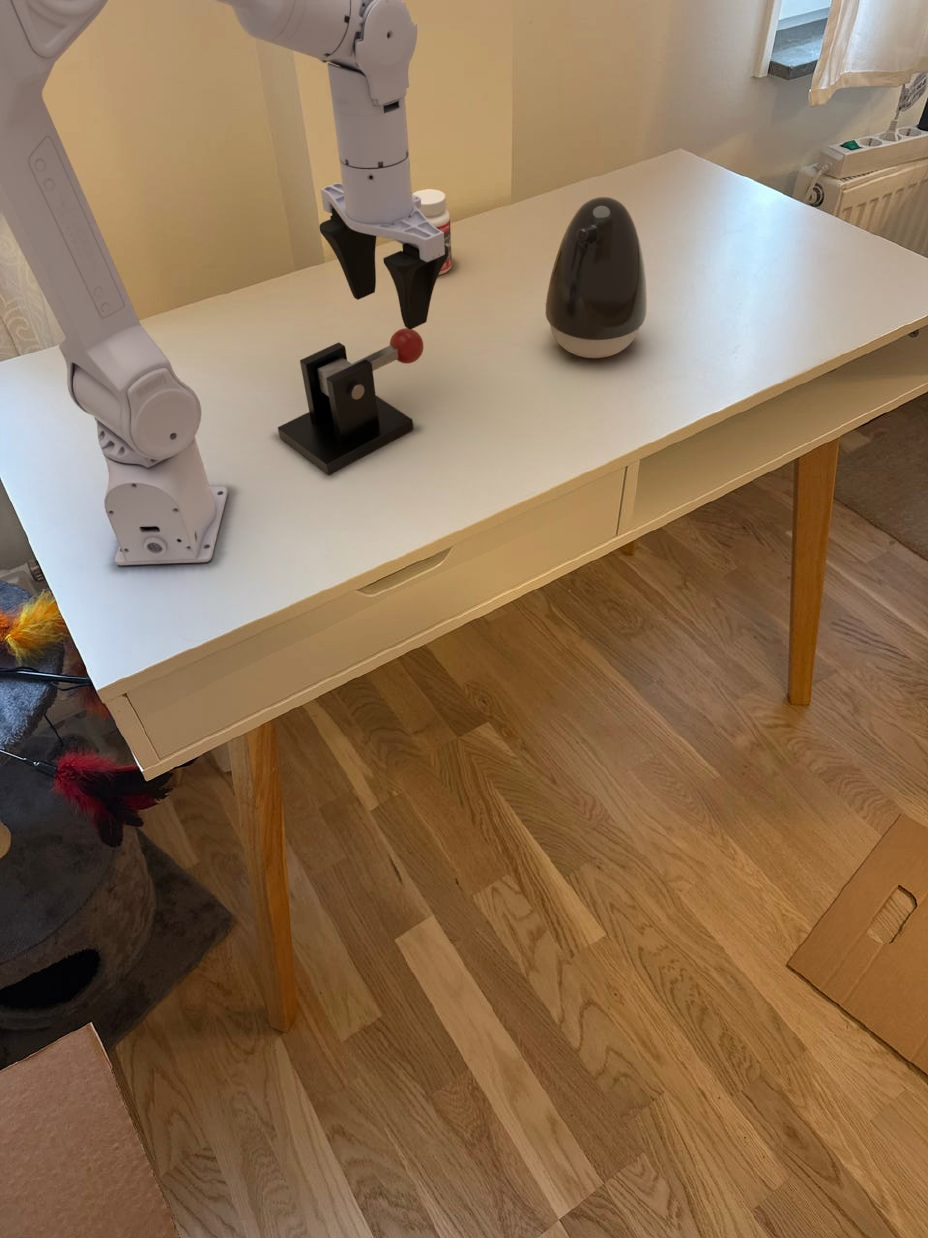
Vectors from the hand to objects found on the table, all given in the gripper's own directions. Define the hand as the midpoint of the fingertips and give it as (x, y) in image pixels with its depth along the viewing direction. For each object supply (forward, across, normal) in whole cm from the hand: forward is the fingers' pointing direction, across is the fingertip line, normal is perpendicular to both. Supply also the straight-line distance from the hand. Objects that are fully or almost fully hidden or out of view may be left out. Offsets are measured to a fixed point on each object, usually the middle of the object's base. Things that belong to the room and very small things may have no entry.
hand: (389, 309), depth 86 cm
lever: (+5, -1, +3) cm, 6 cm away
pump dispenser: (+10, -7, -21) cm, 24 cm away
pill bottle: (+10, +18, -20) cm, 29 cm away
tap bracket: (+9, -1, +8) cm, 12 cm away
